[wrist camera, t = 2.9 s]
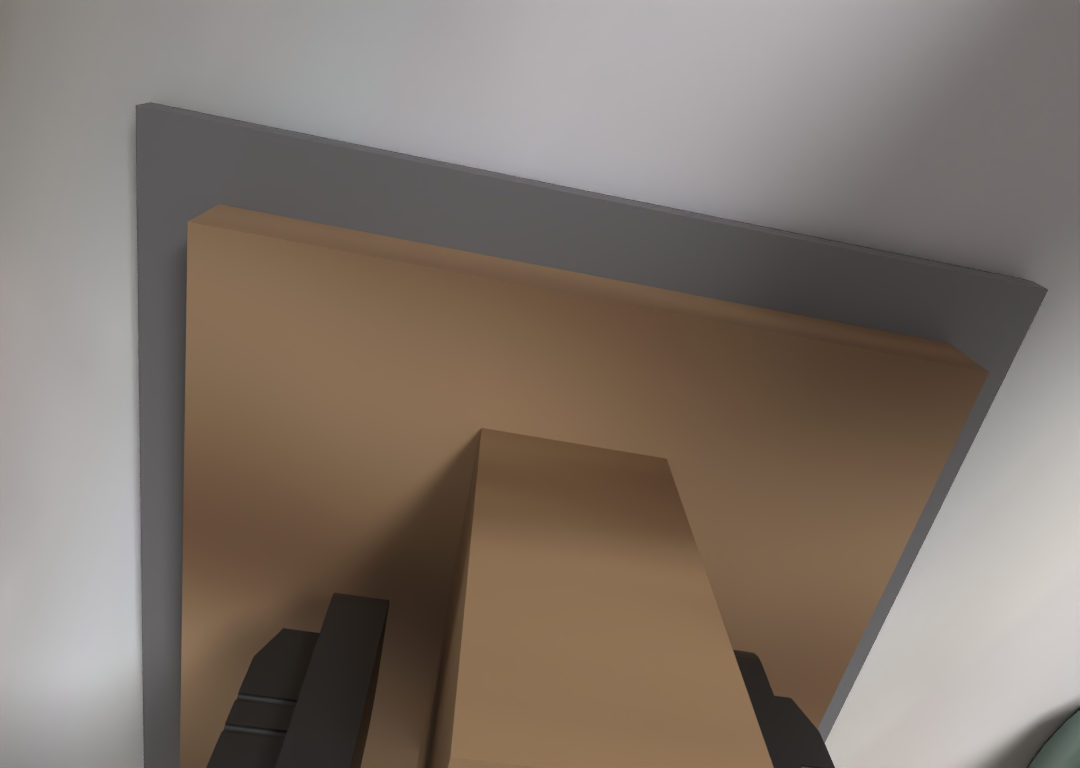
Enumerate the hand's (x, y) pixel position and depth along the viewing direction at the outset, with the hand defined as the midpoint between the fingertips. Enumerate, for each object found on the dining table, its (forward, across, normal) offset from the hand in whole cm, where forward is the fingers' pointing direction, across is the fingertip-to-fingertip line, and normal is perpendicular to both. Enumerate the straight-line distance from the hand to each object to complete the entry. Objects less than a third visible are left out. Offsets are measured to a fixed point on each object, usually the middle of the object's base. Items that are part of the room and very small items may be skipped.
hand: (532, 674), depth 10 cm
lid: (+2, 0, 0) cm, 2 cm away
